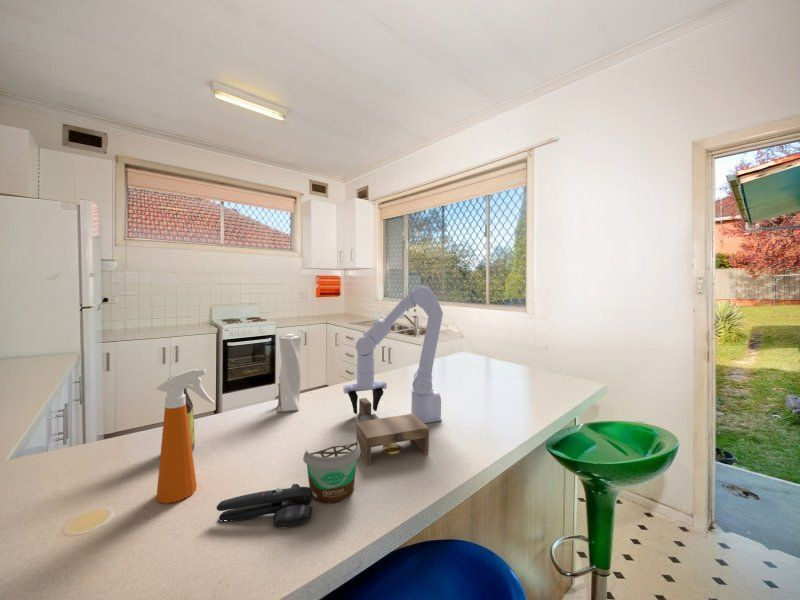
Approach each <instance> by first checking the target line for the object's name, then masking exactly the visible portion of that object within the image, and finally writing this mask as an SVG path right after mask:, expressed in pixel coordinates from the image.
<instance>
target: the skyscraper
mask: <svg viewBox="0 0 800 600" xmlns="http://www.w3.org/2000/svg"><path fill="white" fill-rule="evenodd" d="M295 332H301V333H300V336H298V335H297V336H295V335H296V334H294V333H295ZM302 336H303V330H302V329H293V331H291V332H290V333H288V334H285V335H279V336H278V337H279V338H278V341H279V342H278V343H279V351H280V352H279V353H280V360H281V365H280V372H279V376H278V377H279V378H278V379H279V380H278V381H279V382H278V384H277V387H278V392H277V393H278V394H277V401H278V402H277V409H276V413H277V414H282V413H293V412H299V403H300V394H301V381H302V380H301V378H302V377H301V367H300V362H299V358H300V351H301V342H302ZM286 398H287V399H286Z"/></svg>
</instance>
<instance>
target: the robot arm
mask: <svg viewBox="0 0 800 600" xmlns="http://www.w3.org/2000/svg"><path fill="white" fill-rule="evenodd" d="M416 306H418V307H420V308H421V309H423V311H424V313H425V314H426V315H427V322H426V327H425V332H424V338H423V344H422V349H421V353H420V358H419V359H420V360H419V365H418V369H417V370H416V371H415V373H414V374H413V381H412V390H411V409H410V411H411V413H410V414H414V415H415V416H416V417H418V418H419V419H420V420H421V421H422V422H423V423H424V424H428V423H434V422H439V421H440V422H441V421H443V418H442V397H441V394H440V393H439V392H438V390H434V389H433V375H432V373H433V367H434V362H435V358H436V351H437V346H438V341H439V336H440V331H441V326H442V321H443V320H442V319H443V316H444V312H443V310H442V307H441V305H440V303H439V300H438V299H437V296H436V294H435V293H434V292H433V291H432V289H431V288H429V287H428V286H426V285H420V286H417V287H416V288H414V290H413V291H411V292H410V293H409V294H407V295H406V296H405V297H403V298H402V299H401V300H400V301H399V302H398V303H397V305H396V306H395V307H394V308H393V309H392V310H391V311H390V312H389V314H387V315H386V317H385V318H380V319H379V318H378V319H377V320H374V321H373V322H372V326H370V327H369V328H368V329H367V331H364V332H363V334H362V335H363V336H362V337H359V338H358V340H357V341H356V343H355V350H356V352H357V354H356V355H357V358H356V383H354V384H349V385H343V393H344V394H347V395H348V397H349V400H350V402H351V406H352V410H353V412H352V413H354V414H355V415H358V398H359V395H358V394H357V393H358V392H364V391H372V411H374V412H377V410H378V406H379V402H380V401H381V399H382V396H383V395H384V390H387V386H388V385H387V382H385V381H375V355H374V354H375V352H374V350H375V349H376V347H377V345H379V344H381V342H382V341H383V340H384V339H386V337H387V336H388V335H389V334H390V333H391V332H392V325H393V324H395V322H396V321H397V320H398V319H399V318H401V316H402V315H403V314H404V313H405V312H407V310H410V309H412V308H416Z"/></svg>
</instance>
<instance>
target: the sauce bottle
mask: <svg viewBox="0 0 800 600" xmlns="http://www.w3.org/2000/svg"><path fill="white" fill-rule="evenodd" d="M174 376H175V375H172V376H170V377H168V378H167V380H168V379H170V378H172V377H174ZM184 394H185V397H186V409H187V416H188V424H189V431H190V439H191V446H192V451H193V450H194V449H195V442H196V441H195V439H196V437H195V422H194V421H195V418H194V404H193V402H192V399H191V398H190V396H189V393H188V388H185V389H184Z"/></svg>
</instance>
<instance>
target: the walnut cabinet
mask: <svg viewBox="0 0 800 600" xmlns="http://www.w3.org/2000/svg"><path fill="white" fill-rule="evenodd" d="M355 423H356V427H355V428H356V431H355V433H356V437H355V438H356V439H357V440H358V443H359V446H360V451H361V452H360V456H361V459H362V460H363V462H364V463H365V465H366V467H368V466H371V465H372V448H375V447H380V446H383V445H387V444H392V443H397V444H399V443H403V442H408V441H412V442H413V443H414V444H415V445H416V446H417V447H418V448H419V449H420V450H421V451H422V452H423V453H424V455H426V454H429V452H430V451H429V448H430V445H429V443H430V427H429V426H428V425H427V423H423V422H422V421H421V420H420V419H419V418H418V417H416V416H415V415H414V414H411V413H407V414H402V415H396V416H395V415H393V416H387V417H382V418H379V419H374V420H367V421H361V420H360V421H357V422H355ZM356 439H355V440H356Z"/></svg>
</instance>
